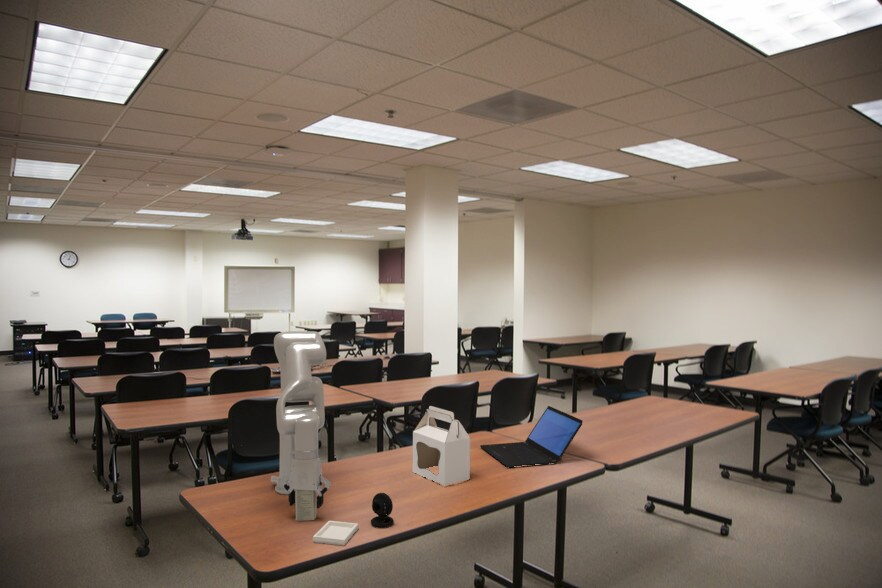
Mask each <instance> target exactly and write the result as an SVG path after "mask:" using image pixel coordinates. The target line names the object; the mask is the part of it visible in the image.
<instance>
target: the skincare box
mask: <svg viewBox="0 0 882 588" xmlns="http://www.w3.org/2000/svg"><path fill="white" fill-rule="evenodd" d="M294 507H295V521H297V522H298V521H299V522H300V521H315V519H316V517H317V493H316V491H305V490H295V505H294Z"/></svg>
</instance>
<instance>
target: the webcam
mask: <svg viewBox="0 0 882 588" xmlns="http://www.w3.org/2000/svg"><path fill="white" fill-rule="evenodd" d="M371 507H372V508H371V510H372V511H373V513H374V514H376V515H377V516H375V517H373V518H371V519H370V524H371V526H372V527H374V528H376V527H378V528H377V529H385V527H386V528H390V527H392V526H393V525H394V522H395V521H394V518H393V517H391V516H390V515H391V514H392V512H393V507H394V506H393V500H392V499H391V496H389V494H387V493H384V492H378V493H376V494H375V495H374V496H373V497H372V504H371ZM385 521H387V522H385ZM392 524H393V525H392ZM389 526H390V527H389Z"/></svg>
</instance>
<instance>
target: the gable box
mask: <svg viewBox="0 0 882 588" xmlns="http://www.w3.org/2000/svg"><path fill="white" fill-rule="evenodd" d="M435 419H436V420H440V421H443V422H447V423H450V425H449V428H448V429H446V428H441V427H438V425H437V422H436V420H435ZM433 466H438V470H439V473H438V475H435V474H434V473H432V472H431V471H430V470H428V469H426V468H429V467H433ZM470 467H471V437H470V436H469V434H468V432H467V430H466V429H465V428H464V426H463V424H462V423H461V422H460V420H458V419H456V417H455V412H454V411H450V410H447V409H444V408H442V407H441V408H440V407H437V406H433V405H429V407H428V408H426V411H425V413H424V415H423V416H422V418H421V419H420V421H419V422H418V424H417V425H416V427H415V428H414V430H412V473H413V472H414V473H417V474H419V475H421V476H423V477H426V478H428V479H430V480H433V481H435V482H438V483H440V484H442V485H444V486H445V485H449V484H453V483H457V482H460V481H464V480H468V479H471V473H470V472H471V468H470ZM414 473H413V474H414ZM417 474H416V475H417ZM419 475H418V476H419ZM421 476H420V477H421ZM423 477H422V478H423ZM428 479H427V480H428ZM430 480H429V481H430Z"/></svg>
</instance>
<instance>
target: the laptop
mask: <svg viewBox="0 0 882 588" xmlns="http://www.w3.org/2000/svg"><path fill="white" fill-rule="evenodd" d="M582 426H583V420H582V419H581V418H577V417H576V416H573V415H571V414H569V413H566V412H564V411H562V410H559V409H557V408H554V407H552V406H550V405H548V406H547V407H546V408H545V410H544V411H543V413H542V415H541V416H540V418H539V420H538V421H537V422H536V424H535V425H534V427H533V428H532V430H531V431H530V432H529V435H528V436H527V437H526V439H525V440H524V441H519V442H518V441H516V442H507V443H490V444H481V445H480V448H481V449H482V450H484V452H487V453H488V454H489V455H490V454H491V455H490V456H491V457H493V456H494V457H495V458H494V457H493V458H494V459H496V460H497V459H498V460H499V461H498V460H497V461H498V462H499V463H501V462H502V463H503V464H504V465H503V464H502V463H501V464H502V465H503V466H505V465H506V466H507V467H514V466H522V465H535V464H549V463H555V464H557V463H559V462H560V460H561V458H562V457H563V456H564V453H565V452H566V451H567V449H568V447H569V446H570V445H571V443H572V442H573V439H574V438H575V436H576V435H577V433H578V432H579V430H580V429H581V427H582ZM506 466H505V467H506ZM507 467H506V468H507Z"/></svg>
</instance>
